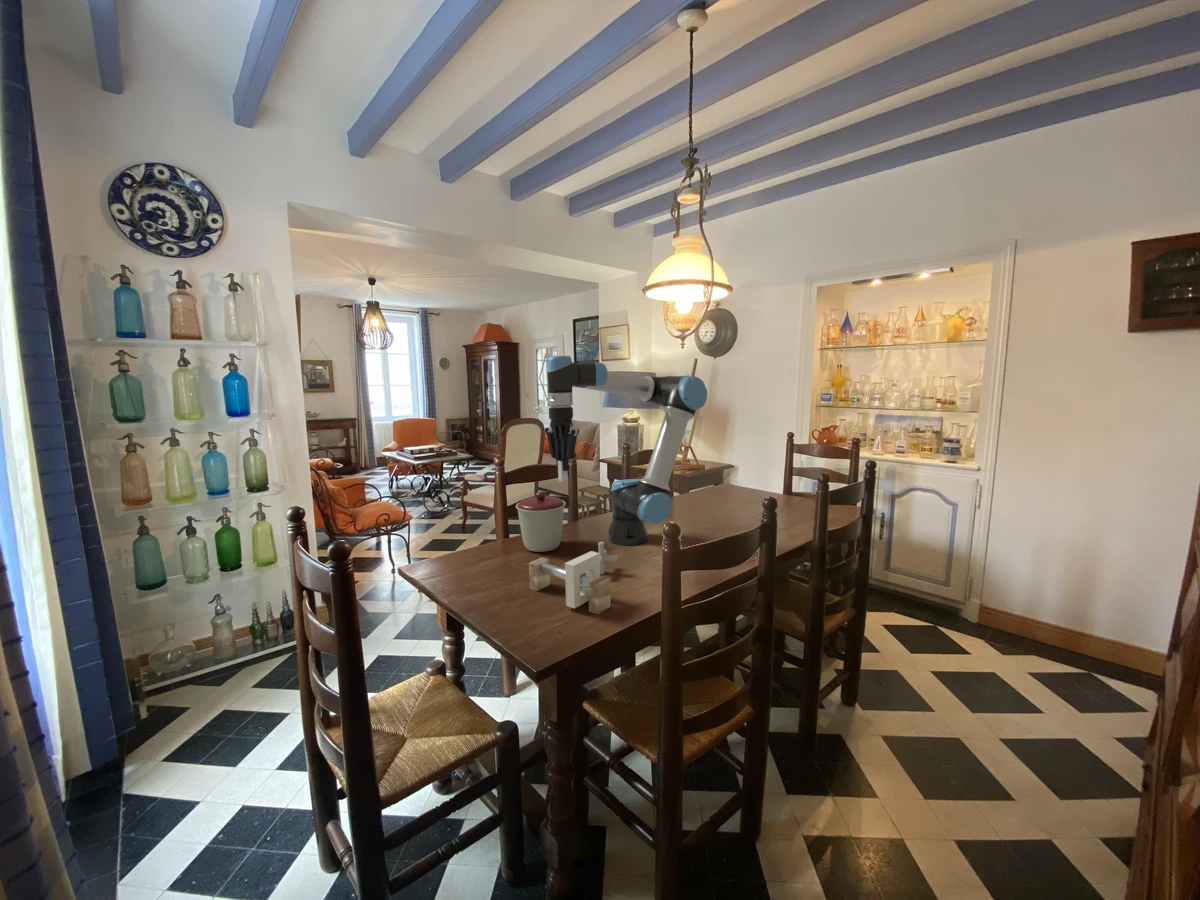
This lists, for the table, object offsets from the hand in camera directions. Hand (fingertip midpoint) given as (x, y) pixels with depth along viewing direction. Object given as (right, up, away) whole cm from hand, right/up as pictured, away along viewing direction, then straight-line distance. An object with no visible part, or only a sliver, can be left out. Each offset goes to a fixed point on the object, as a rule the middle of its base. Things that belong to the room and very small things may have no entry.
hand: (563, 480), depth 152 cm
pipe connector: (+12, -30, 0) cm, 32 cm away
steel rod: (+3, -27, -17) cm, 32 cm away
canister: (-10, -26, +24) cm, 37 cm away
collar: (+7, -32, -20) cm, 38 cm away
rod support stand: (+3, -32, -16) cm, 36 cm away
